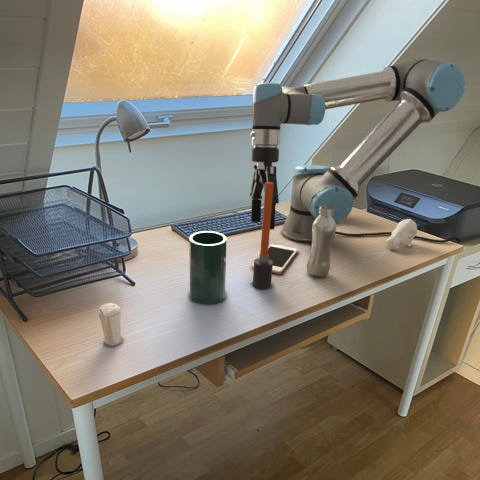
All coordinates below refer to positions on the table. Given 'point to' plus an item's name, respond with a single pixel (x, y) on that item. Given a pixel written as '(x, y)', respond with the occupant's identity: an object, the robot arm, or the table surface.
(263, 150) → the robot arm
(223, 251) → the cup
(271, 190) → the brush
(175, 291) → the table surface
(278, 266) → the cell phone
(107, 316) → the milkshake
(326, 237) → the plastic bottle
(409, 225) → the white animal figurine
